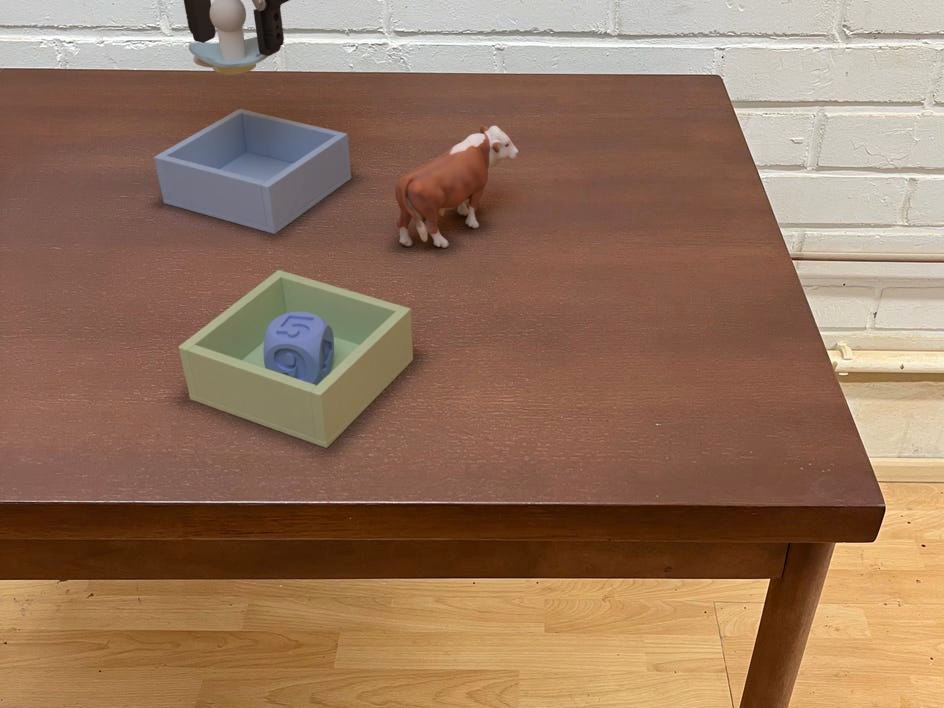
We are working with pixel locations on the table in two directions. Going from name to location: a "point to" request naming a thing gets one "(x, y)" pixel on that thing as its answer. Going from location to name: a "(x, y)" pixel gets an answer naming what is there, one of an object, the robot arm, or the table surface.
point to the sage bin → (286, 398)
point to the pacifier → (228, 41)
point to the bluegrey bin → (254, 169)
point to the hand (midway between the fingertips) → (237, 45)
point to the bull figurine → (450, 183)
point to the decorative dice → (299, 346)
